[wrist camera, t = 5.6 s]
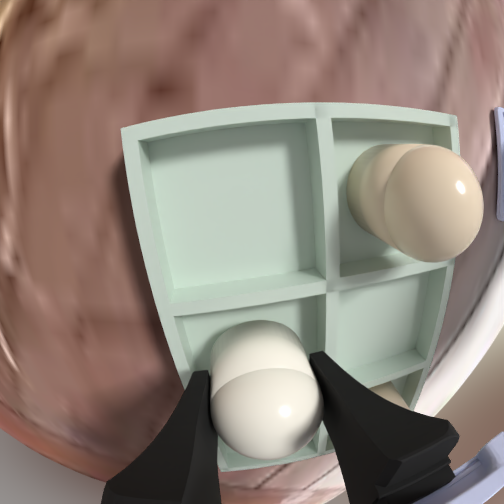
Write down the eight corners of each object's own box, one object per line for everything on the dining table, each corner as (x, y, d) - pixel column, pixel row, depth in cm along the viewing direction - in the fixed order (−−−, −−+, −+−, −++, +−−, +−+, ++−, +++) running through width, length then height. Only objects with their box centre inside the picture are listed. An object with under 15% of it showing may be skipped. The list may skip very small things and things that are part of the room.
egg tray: (429, 117, 12) (456, 115, 10) (395, 408, 19) (406, 426, 17) (137, 132, 11) (120, 128, 9) (220, 449, 18) (221, 471, 16)
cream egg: (301, 312, 12) (345, 400, 7) (302, 381, 14) (333, 463, 9) (201, 327, 12) (196, 426, 7) (219, 394, 13) (224, 482, 8)
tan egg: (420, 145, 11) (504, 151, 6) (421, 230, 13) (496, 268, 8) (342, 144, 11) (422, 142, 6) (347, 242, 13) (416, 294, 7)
